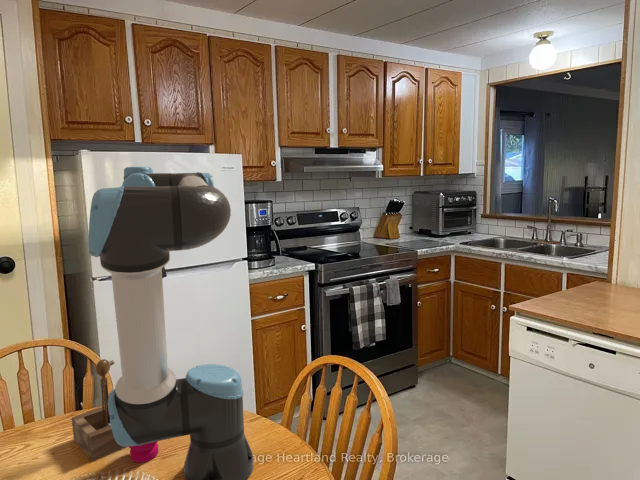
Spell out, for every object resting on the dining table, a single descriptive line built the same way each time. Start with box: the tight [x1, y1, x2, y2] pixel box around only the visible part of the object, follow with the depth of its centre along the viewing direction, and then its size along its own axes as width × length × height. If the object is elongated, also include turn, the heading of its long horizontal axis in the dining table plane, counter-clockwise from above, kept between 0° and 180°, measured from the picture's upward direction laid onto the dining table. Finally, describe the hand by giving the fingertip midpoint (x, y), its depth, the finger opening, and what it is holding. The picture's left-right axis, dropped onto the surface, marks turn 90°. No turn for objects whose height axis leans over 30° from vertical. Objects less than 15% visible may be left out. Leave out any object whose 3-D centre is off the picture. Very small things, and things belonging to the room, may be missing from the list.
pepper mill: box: [128, 441, 159, 464], centre depth 107 cm, size 7×7×20 cm
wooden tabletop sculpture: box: [95, 358, 115, 429], centre depth 114 cm, size 6×5×20 cm
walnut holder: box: [71, 406, 126, 462], centre depth 114 cm, size 13×13×6 cm
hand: (147, 298), depth 128 cm, fingers open, 13 cm apart
